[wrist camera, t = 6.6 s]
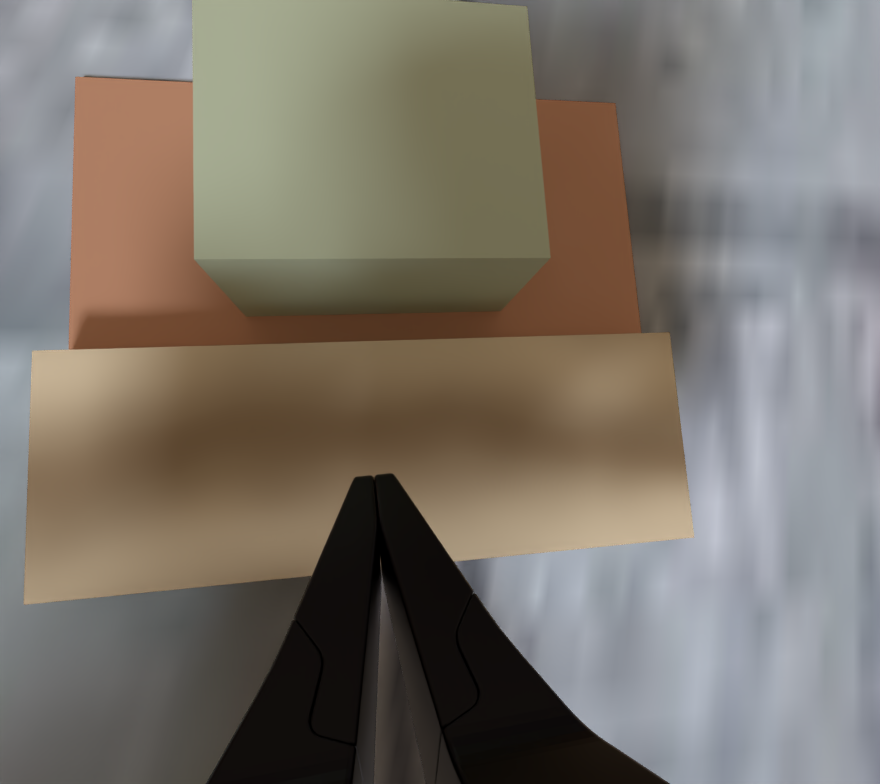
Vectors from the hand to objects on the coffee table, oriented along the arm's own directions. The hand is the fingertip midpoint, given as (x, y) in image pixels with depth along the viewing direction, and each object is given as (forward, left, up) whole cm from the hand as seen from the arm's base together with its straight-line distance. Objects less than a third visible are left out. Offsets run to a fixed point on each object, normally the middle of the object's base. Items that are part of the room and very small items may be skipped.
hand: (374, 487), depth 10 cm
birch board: (+1, -1, -7) cm, 7 cm away
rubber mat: (+10, -1, -7) cm, 12 cm away
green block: (+6, 0, -4) cm, 7 cm away
